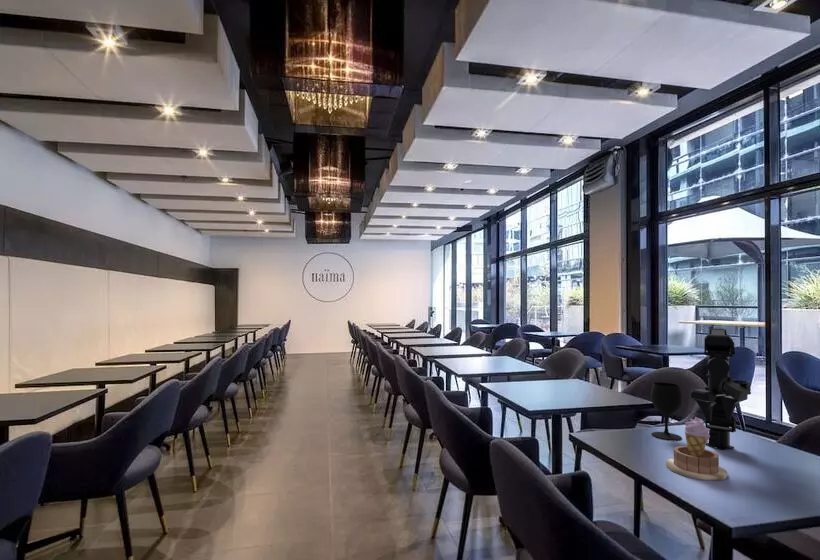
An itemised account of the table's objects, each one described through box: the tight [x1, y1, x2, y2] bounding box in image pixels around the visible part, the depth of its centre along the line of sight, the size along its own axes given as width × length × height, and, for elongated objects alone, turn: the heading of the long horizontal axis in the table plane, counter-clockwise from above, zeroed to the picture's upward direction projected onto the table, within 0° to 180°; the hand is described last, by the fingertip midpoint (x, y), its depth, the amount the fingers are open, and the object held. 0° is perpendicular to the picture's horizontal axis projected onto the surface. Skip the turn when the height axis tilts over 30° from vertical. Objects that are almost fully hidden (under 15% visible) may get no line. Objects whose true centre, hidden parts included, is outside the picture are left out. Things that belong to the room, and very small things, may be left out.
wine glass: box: [650, 381, 683, 442], centre depth 175 cm, size 10×10×20 cm
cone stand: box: [665, 445, 729, 482], centre depth 140 cm, size 16×16×6 cm
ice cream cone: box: [684, 416, 710, 457], centre depth 140 cm, size 7×6×15 cm
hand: (719, 420), depth 150 cm, fingers open, 9 cm apart
